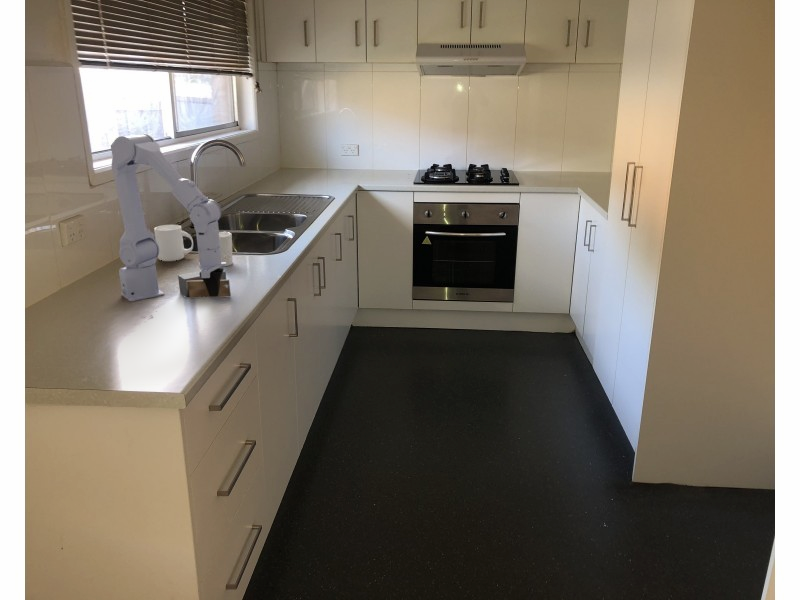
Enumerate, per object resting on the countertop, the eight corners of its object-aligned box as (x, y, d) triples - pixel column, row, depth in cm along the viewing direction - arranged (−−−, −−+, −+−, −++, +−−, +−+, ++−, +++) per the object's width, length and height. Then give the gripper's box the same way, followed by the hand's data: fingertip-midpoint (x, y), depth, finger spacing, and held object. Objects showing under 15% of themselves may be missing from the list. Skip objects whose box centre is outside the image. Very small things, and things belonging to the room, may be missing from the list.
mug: (192, 261, 213) (188, 229, 210) (155, 262, 212) (151, 230, 209) (197, 254, 221) (193, 224, 218) (161, 255, 220) (157, 225, 217)
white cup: (239, 263, 211) (236, 233, 207) (221, 268, 204) (218, 238, 201) (222, 259, 215) (219, 230, 211) (204, 265, 208) (201, 235, 205)
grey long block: (186, 297, 177) (184, 279, 175) (180, 293, 181) (177, 275, 179) (227, 289, 184) (225, 271, 183) (220, 285, 188) (218, 267, 186)
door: (185, 298, 176) (183, 282, 174) (187, 296, 177) (185, 280, 176) (229, 297, 176) (227, 281, 175) (230, 295, 178) (229, 279, 176)
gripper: (218, 254, 162) (223, 304, 166) (229, 240, 175) (233, 287, 180) (190, 254, 161) (196, 305, 166) (203, 240, 175) (208, 287, 179)
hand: (214, 295), depth 173 cm, fingers closed
